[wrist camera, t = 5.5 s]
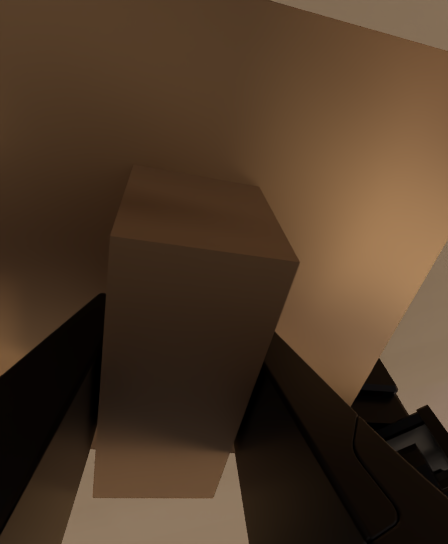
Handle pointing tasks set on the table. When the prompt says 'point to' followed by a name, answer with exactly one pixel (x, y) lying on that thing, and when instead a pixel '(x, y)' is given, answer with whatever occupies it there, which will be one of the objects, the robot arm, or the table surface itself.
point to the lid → (211, 208)
